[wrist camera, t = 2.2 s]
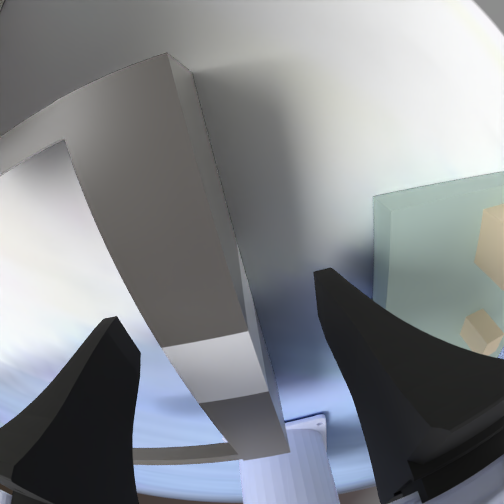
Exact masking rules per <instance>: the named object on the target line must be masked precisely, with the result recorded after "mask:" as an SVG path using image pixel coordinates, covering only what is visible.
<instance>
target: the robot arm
mask: <svg viewBox="0 0 504 504" xmlns="http://www.w3.org/2000/svg"><path fill="white" fill-rule="evenodd" d="M314 281H315V290H316V300H317V310H318V317H319V320H320V323H321V326H322V329H323V332H324V335H325V338H326V340H327V343H328V345H329V347H330V349H331V351H332V353H333V356H334V358H335V360H336V362H337V364H338V366H339V368H340V371H341V373H342V375H343V377H344V379H345V381H346V384H347V386H348V388H349V390H350V393H351V395H352V398H353V401H354V404H355V407H356V410H357V413H358V417H359V420H360V423H361V427H362V430H363V433H364V437H365V440H366V444H367V448H368V452H369V456H370V460H371V464H372V468H373V472H374V477H375V481H376V486H377V491H378V496H379V499H380V503H381V504H388V503H389V504H504V359H500V358H495V357H491V356H487V355H483V354H479V353H476V352H473V351H470V350H467V349H464V348H461V347H458V346H456V345H453V344H451V343H448V342H446V341H443V340H441V339H439V338H437V337H434V336H432V335H430V334H428V333H426V332H424V331H422V330H420V329H418V328H416V327H414V326H412V325H410V324H409V323H407V322H405V321H403V320H401V319H400V318H398V317H397V316H395V315H393V314H392V313H390V312H389V311H387V310H386V309H384V308H383V307H381V306H380V305H379V304H377V303H376V302H374V301H373V300H372V299H370V298H369V297H368V296H366V295H365V294H363V293H362V292H361V291H360V290H358V289H357V288H356V287H354V286H353V285H352V284H351V283H349V282H348V281H347V280H346V279H345V278H343V277H342V276H341V275H340V274H338V273H337V272H336V271H335V270H334V269H332V268H327V269H323V270H319V271H315V272H314ZM140 355H141V352H140V351H139V349H138V348H137V346H136V345H135V343H134V342H133V340H132V339H131V337H130V336H129V334H128V333H127V331H126V330H125V328H124V327H123V325H122V324H121V322H120V320H119V319H118V317H117V316H115V317H110V318H105V319H103V320H102V321H101V322H100V323H99V324H98V325H97V327H96V328H95V329H94V330H93V331H92V333H91V334H90V335H89V336H88V338H87V339H86V340H85V341H84V343H83V344H82V345H81V346H80V348H79V349H78V350H77V351H76V353H75V354H74V355H73V357H72V358H71V359H70V360H69V362H68V363H67V364H66V365H65V366H64V368H63V369H62V370H61V371H60V373H59V374H58V375H57V376H56V377H55V379H54V380H53V381H52V382H51V383H50V384H49V385H48V386H47V388H46V389H45V390H44V391H43V392H42V393H41V394H40V395H39V396H38V397H37V398H36V399H35V400H34V401H33V402H32V403H30V404H29V405H28V406H27V407H26V408H25V409H24V410H23V411H22V412H21V413H19V414H18V415H17V416H16V417H15V418H13V419H12V420H11V421H9V422H8V423H7V424H5V425H4V426H3V427H1V428H0V483H1V484H3V485H4V486H6V487H8V488H10V489H11V490H13V494H12V495H10V494H8V493H6V492H4V491H2V490H0V504H139V502H138V497H137V491H136V484H135V477H134V467H133V448H132V433H133V422H134V414H135V407H136V400H137V393H138V386H139V380H140ZM285 428H286V433H287V438H288V442H289V447H290V453H285V454H280V455H275V456H270V457H264V458H258V459H252V460H245V461H243V459H240V460H239V468H240V478H241V487H242V496H243V504H340V502H339V498H338V494H337V490H336V486H335V483H334V479H333V475H332V471H331V468H330V464H329V460H328V457H327V435H326V417H325V415H323V414H320V415H316V416H312V417H308V418H304V419H300V420H296V421H292V422H287V423H285ZM222 439H223V441H224V442H225V443H227V442H228V441H227V440H226V439H225V438H224V436H222ZM400 498H401V499H400ZM395 500H396V501H395ZM393 501H394V502H393Z"/></svg>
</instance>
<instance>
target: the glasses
mask: <svg viewBox="0 0 504 504" xmlns="http://www.w3.org/2000/svg"><path fill="white" fill-rule="evenodd" d="M62 140H65V143H66V146H67V149H68V152H69V155H70V158H71V161H72V164H73V167H74V170H75V172H76V175H77V178H78V180H79V183H80V186H81V188H82V191H83V193H84V196H85V199H86V201H87V203H88V206H89V208H90V211H91V213H92V216H93V218H94V220H95V222H96V225H97V227H98V229H99V232H100V234H101V236H102V238H103V240H104V243H105V245H106V247H107V249H108V251H109V253H110V255H111V257H112V259H113V261H114V264H115V266H116V268H117V270H118V272H119V274H120V276H121V277H122V279H123V281H124V283H125V285H126V287H127V289H128V291H129V293H130V295H131V296H132V298H133V300H134V302H135V304H136V306H137V307H138V309H139V311H140V313H141V315H142V316H143V318H144V320H145V322H146V323H147V325H148V327H149V328H150V330H151V332H152V333H153V335H154V337H155V338H156V340H157V342H158V343H159V345H160V347H161V348H162V350H163V351H164V353H165V355H166V356H167V358H168V359H169V361H170V362H171V364H172V365H173V367H174V369H175V370H176V372H177V373H178V375H179V376H180V378H181V379H182V381H183V382H184V383H185V385H186V386H187V388H188V389H189V391H190V392H191V394H192V395H193V396H194V398H195V399H196V401H197V402H198V403H199V405H200V406H201V408H202V409H203V410H204V412H205V413H206V414H207V416H208V417H209V418H210V420H211V421H212V422H213V424H214V425H215V426H216V427H217V429H218V430H219V431H220V433H221V434H222V435H223V436H224V438H225V439H226V440H227V441H228V442H227V443H218V444H209V445H199V446H186V447H168V448H133V465H183V464H201V463H213V462H223V461H232V460H240V459H243V461H245V460H252V459H258V458H264V457H270V456H275V455H280V454H285V453H290V447H289V442H288V438H287V433H286V428H285V423H284V418H283V413H282V408H281V403H280V398H279V393H278V388H277V383H276V378H275V375H274V371H273V368H272V364H271V361H270V357H269V354H268V350H267V347H266V343H265V340H264V336H263V333H262V329H261V326H260V322H259V319H258V315H257V312H256V308H255V305H254V301H253V298H252V294H251V291H250V287H249V283H248V280H247V276H246V273H245V269H244V265H243V262H242V258H241V255H240V251H239V247H238V244H237V240H236V236H235V233H234V229H233V226H232V222H231V218H230V215H229V211H228V207H227V203H226V200H225V196H224V192H223V189H222V185H221V181H220V177H219V174H218V170H217V166H216V163H215V159H214V155H213V151H212V147H211V144H210V140H209V136H208V132H207V128H206V125H205V121H204V117H203V113H202V109H201V106H200V102H199V98H198V94H197V90H196V86H195V82H194V78H193V74H192V72H191V71H189V70H188V69H187V68H186V67H184V66H183V65H182V64H181V63H180V62H178V61H177V60H176V59H175V58H173V57H172V56H171V55H170V54H168V53H164V54H161V55H158V56H155V57H152V58H149V59H146V60H144V61H141V62H138V63H135V64H133V65H130V66H128V67H125V68H123V69H120V70H118V71H115V72H113V73H111V74H108V75H106V76H104V77H101V78H99V79H97V80H95V81H93V82H91V83H88V84H86V85H84V86H82V87H80V88H78V89H76V90H74V91H72V92H70V93H68V94H67V95H65V96H63V97H61V98H59V99H57V100H56V101H54V103H52V104H50V105H49V106H47V107H45V108H43V109H42V110H40V111H38V112H37V113H35V114H33V115H32V116H30V117H29V118H27V119H26V120H24V121H22V122H21V123H19V124H18V125H16V126H15V127H13V128H12V129H11V130H9V131H8V132H6V133H5V134H3V135H2V136H1V137H0V176H1V175H3V174H5V173H6V172H8V171H9V170H11V169H12V168H14V167H16V166H17V165H19V164H21V163H22V162H24V161H26V160H27V159H29V158H31V157H33V156H34V155H36V154H38V153H40V152H41V151H43V150H45V149H47V148H49V147H51V146H53V145H54V144H56V143H58V142H60V141H62Z"/></svg>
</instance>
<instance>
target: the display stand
mask: <svg viewBox="0 0 504 504" xmlns="http://www.w3.org/2000/svg"><path fill="white" fill-rule="evenodd" d="M373 211H374V274H373V298H372V300H373V301H374V302H376V303H377V304H379V305H380V306H381V307H383V308H384V309H386V310H387V311H389V312H390V313H392V314H393V315H395V316H397V317H398V318H400V319H401V320H403V321H405V322H407V323H409V324H410V325H412V326H414V327H416V328H418V329H420V330H422V331H424V332H426V333H428V334H430V335H432V336H434V337H437V338H439V339H441V340H443V341H446V342H448V343H451V344H453V345H456V346H458V347H461V348H464V349H467V350H470V351H473V352H476V353H479V354H483V355H487V356H491V357H495V358H497V357H498V356H499V354H500V352H501V350H502V348H503V346H504V172H498V173H492V174H487V175H481V176H475V177H470V178H464V179H459V180H454V181H448V182H443V183H438V184H433V185H427V186H422V187H417V188H412V189H407V190H402V191H397V192H392V193H388V194H383V195H378V196H373Z"/></svg>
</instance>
